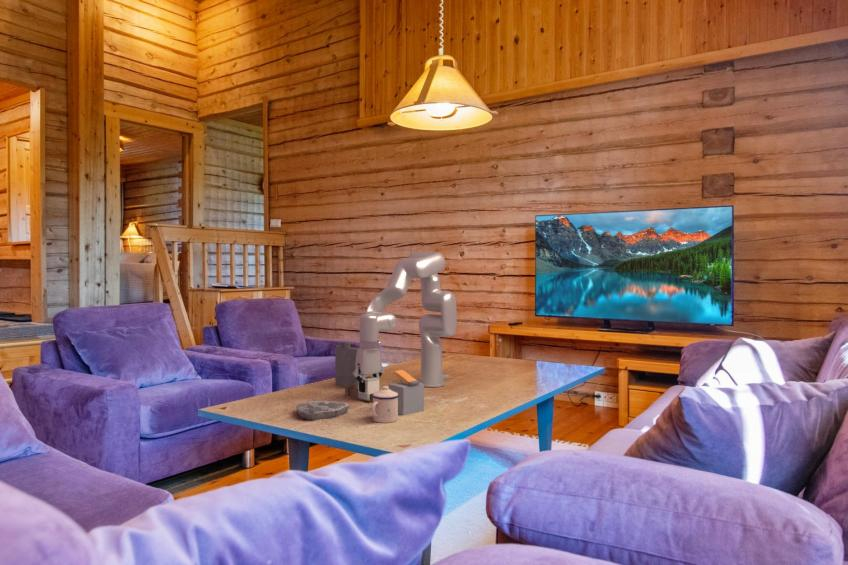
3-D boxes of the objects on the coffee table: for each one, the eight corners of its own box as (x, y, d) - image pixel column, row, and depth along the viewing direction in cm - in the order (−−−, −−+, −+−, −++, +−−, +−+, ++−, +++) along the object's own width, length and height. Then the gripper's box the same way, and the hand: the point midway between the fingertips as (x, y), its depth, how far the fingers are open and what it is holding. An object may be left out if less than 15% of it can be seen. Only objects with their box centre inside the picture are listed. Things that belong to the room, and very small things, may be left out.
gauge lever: (402, 373, 223) (403, 369, 222) (418, 385, 216) (419, 381, 216) (393, 374, 220) (394, 370, 219) (409, 387, 213) (411, 383, 213)
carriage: (369, 395, 238) (369, 376, 238) (379, 398, 234) (379, 378, 233) (358, 397, 234) (358, 377, 234) (367, 400, 230) (367, 380, 229)
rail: (354, 394, 244) (354, 383, 244) (403, 407, 223) (403, 395, 223) (344, 396, 241) (344, 385, 241) (393, 409, 219) (393, 397, 219)
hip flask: (362, 389, 255) (362, 342, 254) (355, 390, 252) (355, 343, 251) (339, 383, 266) (339, 339, 265) (332, 384, 263) (332, 340, 262)
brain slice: (324, 406, 225) (324, 398, 225) (356, 413, 215) (356, 405, 215) (282, 416, 210) (282, 407, 210) (314, 424, 200) (314, 415, 199)
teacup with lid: (382, 415, 212) (382, 382, 211) (403, 418, 207) (403, 385, 206) (361, 422, 202) (361, 388, 201) (383, 426, 197) (383, 391, 196)
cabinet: (408, 406, 224) (408, 380, 224) (423, 410, 218) (423, 383, 218) (388, 411, 218) (388, 384, 217) (403, 415, 212) (403, 387, 211)
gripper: (380, 342, 242) (379, 386, 242) (345, 346, 230) (345, 392, 231) (391, 344, 236) (391, 389, 237) (357, 348, 224) (356, 395, 225)
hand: (368, 390), depth 234 cm, fingers closed on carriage, 5 cm apart
